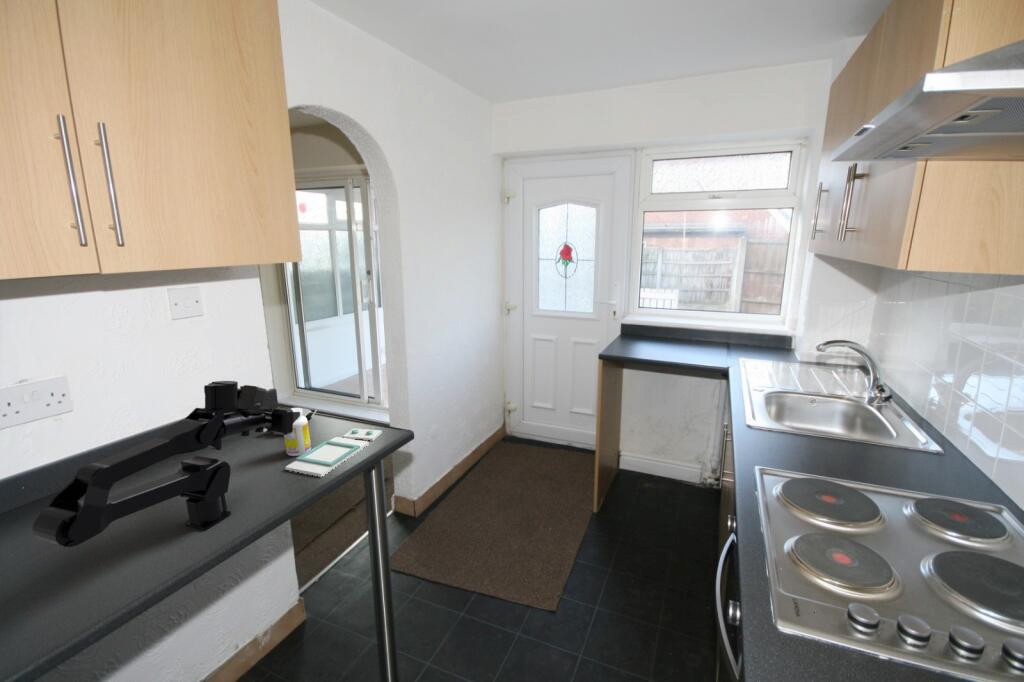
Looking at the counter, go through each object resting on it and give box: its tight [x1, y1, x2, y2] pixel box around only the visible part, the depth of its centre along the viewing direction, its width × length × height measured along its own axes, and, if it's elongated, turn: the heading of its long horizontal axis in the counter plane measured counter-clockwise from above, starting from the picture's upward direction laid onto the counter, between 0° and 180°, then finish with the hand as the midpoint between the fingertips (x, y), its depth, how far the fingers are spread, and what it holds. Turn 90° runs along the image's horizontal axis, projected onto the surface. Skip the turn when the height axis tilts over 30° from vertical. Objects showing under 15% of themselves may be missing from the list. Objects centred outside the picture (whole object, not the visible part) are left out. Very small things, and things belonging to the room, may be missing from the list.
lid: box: [342, 428, 383, 442], centre depth 147 cm, size 6×10×1 cm, turn 78°
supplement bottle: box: [283, 407, 312, 457], centre depth 135 cm, size 7×7×13 cm
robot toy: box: [262, 407, 318, 433], centre depth 154 cm, size 12×4×15 cm
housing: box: [285, 436, 370, 478], centre depth 133 cm, size 20×12×2 cm, turn 160°
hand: (285, 411), depth 124 cm, fingers open, 9 cm apart
